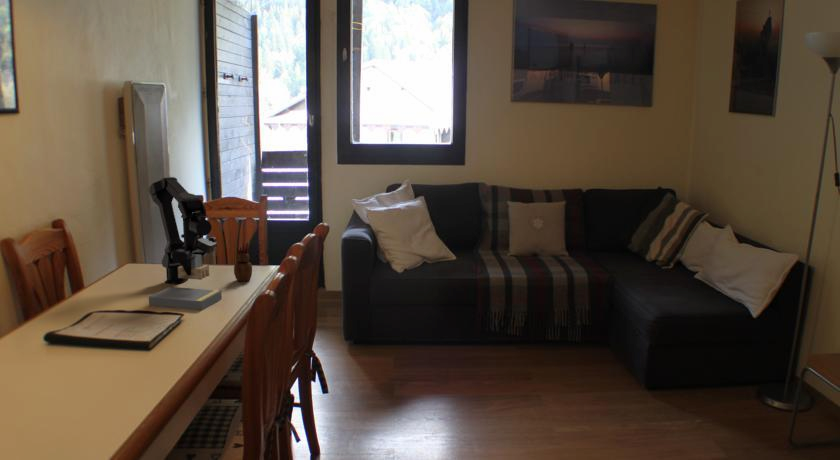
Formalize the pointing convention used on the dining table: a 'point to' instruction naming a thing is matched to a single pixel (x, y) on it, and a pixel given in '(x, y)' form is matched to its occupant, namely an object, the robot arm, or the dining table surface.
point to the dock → (185, 298)
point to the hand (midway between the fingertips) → (193, 273)
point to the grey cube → (196, 260)
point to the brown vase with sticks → (243, 265)
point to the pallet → (194, 272)
